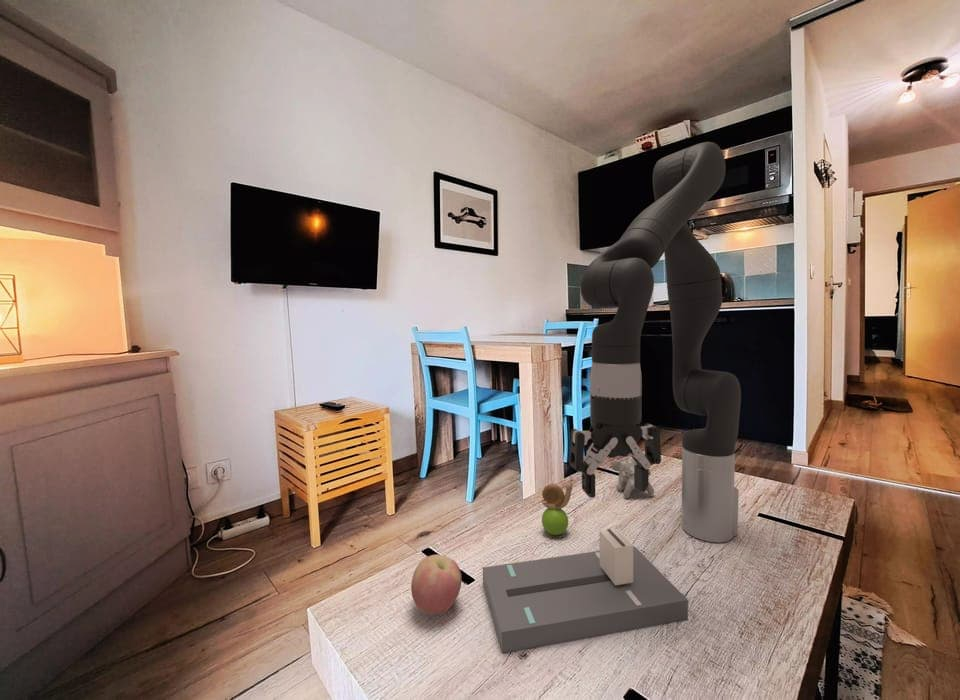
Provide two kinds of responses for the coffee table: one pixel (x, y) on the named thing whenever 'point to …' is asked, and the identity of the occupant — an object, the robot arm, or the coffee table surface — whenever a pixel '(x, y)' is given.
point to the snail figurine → (555, 508)
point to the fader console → (575, 600)
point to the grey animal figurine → (627, 476)
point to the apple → (436, 584)
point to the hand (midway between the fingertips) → (615, 492)
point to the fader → (616, 556)
